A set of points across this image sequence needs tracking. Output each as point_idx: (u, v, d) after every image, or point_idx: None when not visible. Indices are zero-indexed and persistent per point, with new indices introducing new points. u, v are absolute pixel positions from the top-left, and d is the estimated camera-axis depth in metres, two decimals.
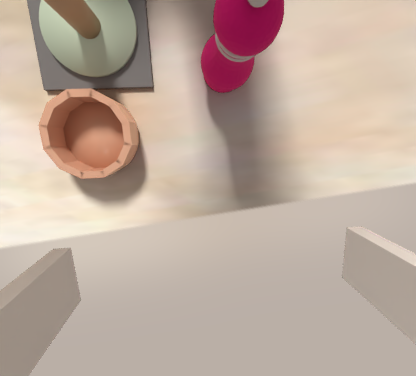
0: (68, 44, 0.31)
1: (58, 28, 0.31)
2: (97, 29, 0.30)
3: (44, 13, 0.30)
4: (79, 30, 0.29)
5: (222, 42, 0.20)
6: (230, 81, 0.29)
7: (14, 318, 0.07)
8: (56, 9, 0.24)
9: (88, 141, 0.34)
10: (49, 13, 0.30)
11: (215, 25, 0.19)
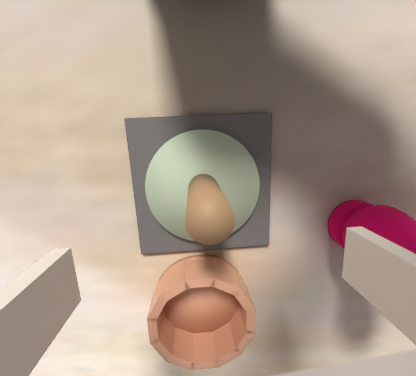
0: (178, 210, 0.25)
1: (167, 193, 0.25)
2: None
3: (152, 178, 0.24)
4: None
5: None
6: None
7: (14, 318, 0.07)
8: None
9: (189, 306, 0.29)
10: (158, 177, 0.24)
11: None
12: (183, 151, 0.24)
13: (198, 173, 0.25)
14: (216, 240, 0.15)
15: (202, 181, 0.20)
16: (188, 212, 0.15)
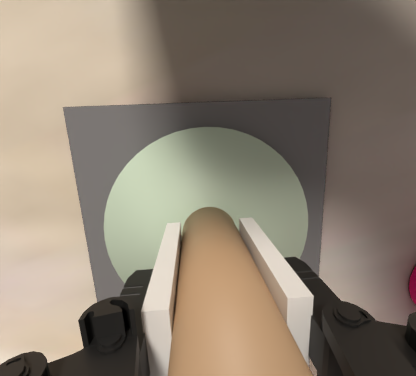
0: None
1: (145, 241, 0.14)
2: None
3: (116, 215, 0.13)
4: None
5: None
6: None
7: (177, 265, 0.09)
8: None
9: None
10: (129, 214, 0.13)
11: None
12: (173, 167, 0.13)
13: (200, 206, 0.14)
14: None
15: (210, 237, 0.09)
16: None
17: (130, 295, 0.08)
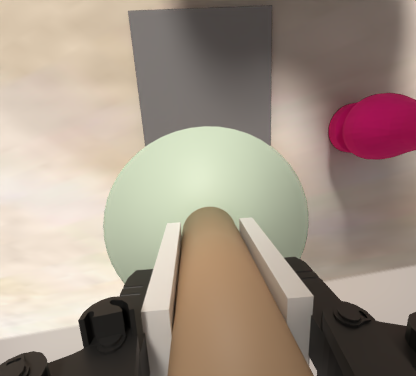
0: None
1: (144, 241, 0.14)
2: None
3: (116, 215, 0.13)
4: None
5: None
6: (390, 156, 0.24)
7: (177, 265, 0.09)
8: None
9: None
10: (128, 213, 0.13)
11: None
12: (173, 166, 0.13)
13: (200, 206, 0.14)
14: None
15: (210, 236, 0.09)
16: None
17: (130, 295, 0.08)
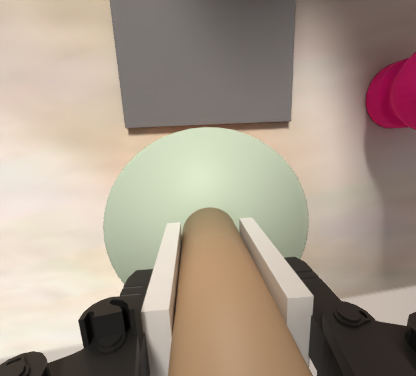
0: None
1: (144, 242, 0.14)
2: None
3: (116, 216, 0.13)
4: None
5: None
6: None
7: (177, 265, 0.09)
8: None
9: None
10: (128, 214, 0.13)
11: None
12: (173, 167, 0.13)
13: (200, 206, 0.14)
14: None
15: (210, 238, 0.09)
16: None
17: (130, 295, 0.08)
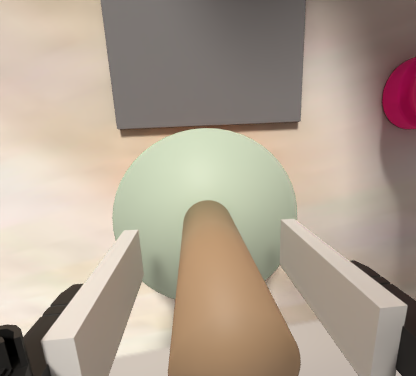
0: (167, 256, 0.16)
1: (149, 231, 0.15)
2: None
3: (124, 207, 0.15)
4: None
5: None
6: None
7: (119, 278, 0.08)
8: None
9: None
10: (135, 206, 0.15)
11: None
12: (175, 164, 0.14)
13: (199, 199, 0.15)
14: None
15: (208, 223, 0.11)
16: (176, 351, 0.05)
17: (53, 315, 0.07)
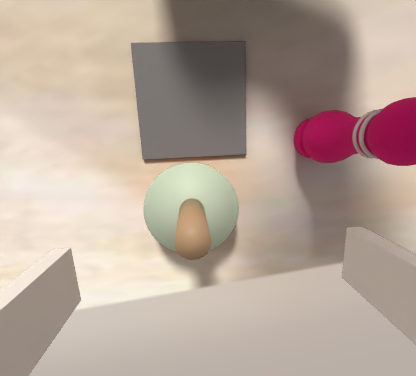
0: (170, 228, 0.30)
1: (162, 214, 0.30)
2: None
3: (149, 202, 0.30)
4: None
5: (379, 155, 0.20)
6: (338, 160, 0.30)
7: (14, 318, 0.07)
8: None
9: None
10: (155, 201, 0.30)
11: (376, 141, 0.20)
12: (175, 180, 0.29)
13: (187, 198, 0.30)
14: (197, 256, 0.21)
15: (189, 207, 0.26)
16: (176, 235, 0.20)
17: None
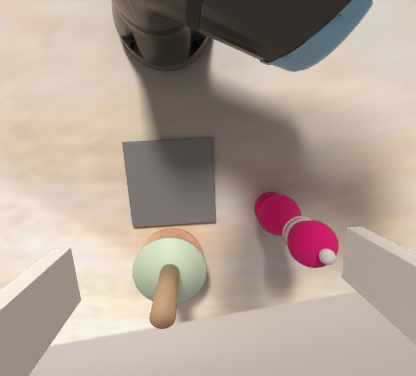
0: (154, 285, 0.39)
1: (146, 276, 0.39)
2: None
3: (137, 267, 0.38)
4: None
5: (293, 257, 0.29)
6: None
7: (14, 318, 0.07)
8: None
9: None
10: (141, 267, 0.38)
11: (290, 250, 0.28)
12: (156, 251, 0.38)
13: (166, 263, 0.39)
14: (166, 326, 0.29)
15: (165, 279, 0.35)
16: (151, 313, 0.29)
17: None
